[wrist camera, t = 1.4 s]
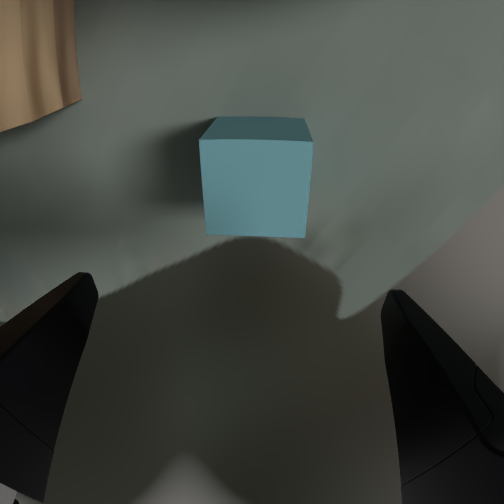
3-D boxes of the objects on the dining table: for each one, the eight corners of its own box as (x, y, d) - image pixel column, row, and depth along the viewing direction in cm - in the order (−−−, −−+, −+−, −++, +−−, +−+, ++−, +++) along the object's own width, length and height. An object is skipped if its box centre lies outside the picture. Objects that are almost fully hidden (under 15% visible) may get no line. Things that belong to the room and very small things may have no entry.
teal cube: (303, 118, 17) (313, 142, 13) (299, 194, 20) (305, 237, 16) (217, 116, 17) (198, 140, 13) (221, 192, 20) (206, 234, 16)
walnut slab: (78, -22, 12) (51, -26, 9) (85, 98, 17) (60, 108, 15) (-9, 22, 12) (-35, 26, 10) (2, 121, 18) (-23, 134, 15)
